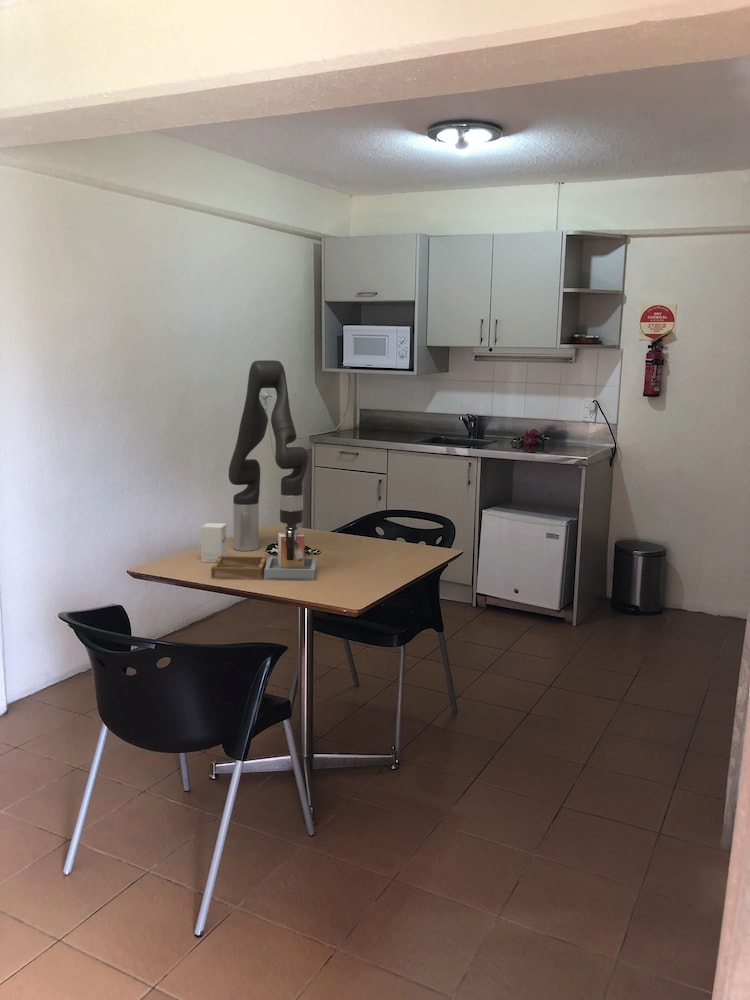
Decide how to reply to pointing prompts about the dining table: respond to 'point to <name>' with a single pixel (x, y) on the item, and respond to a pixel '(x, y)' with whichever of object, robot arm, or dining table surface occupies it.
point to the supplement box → (213, 541)
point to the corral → (250, 573)
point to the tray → (290, 570)
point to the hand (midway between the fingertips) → (291, 557)
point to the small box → (298, 551)
